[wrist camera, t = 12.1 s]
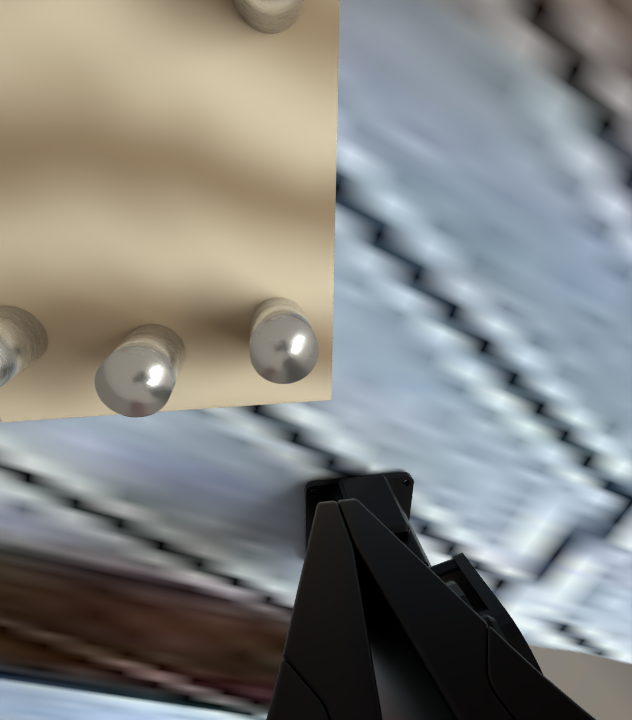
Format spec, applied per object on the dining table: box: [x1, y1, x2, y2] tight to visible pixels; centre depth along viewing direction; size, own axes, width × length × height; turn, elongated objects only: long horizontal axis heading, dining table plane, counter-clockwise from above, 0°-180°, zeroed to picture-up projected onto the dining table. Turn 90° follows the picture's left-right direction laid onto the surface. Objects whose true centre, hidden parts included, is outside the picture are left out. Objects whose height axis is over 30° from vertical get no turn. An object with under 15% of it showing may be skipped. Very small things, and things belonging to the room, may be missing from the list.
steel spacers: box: [0, 0, 319, 417], centre depth 13 cm, size 17×14×4 cm
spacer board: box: [0, 0, 340, 422], centre depth 15 cm, size 20×15×1 cm
